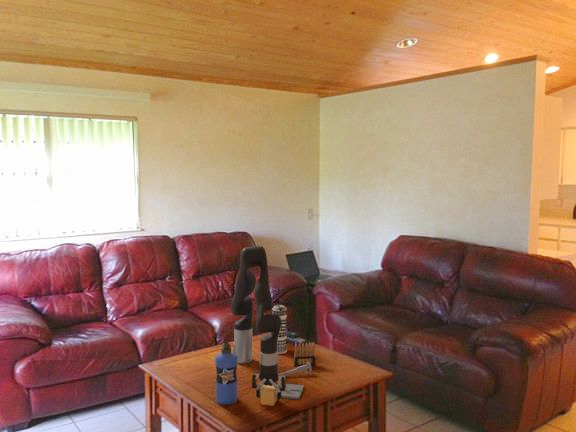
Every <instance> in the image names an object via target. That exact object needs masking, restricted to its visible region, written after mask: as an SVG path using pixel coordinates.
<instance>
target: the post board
mask: <svg viewBox="0 0 576 432" xmlns="http://www.w3.org/2000/svg"><path fill="white" fill-rule="evenodd" d="M278 383H279V385H280V386H281V387H282V383H281V381H280V379H278ZM263 386H264V384H263V385H262V386H261V387H260V391H261V389H262V388H263ZM272 386H273V385H272ZM304 388H305V385H303V384H295V383H286V389H285V391H281V398H282V399H292V400H300V397H301V395H302V393H303V391H304ZM277 392H278V391H277Z"/></svg>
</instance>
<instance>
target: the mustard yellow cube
mask: <svg viewBox="0 0 576 432" xmlns="http://www.w3.org/2000/svg"><path fill="white" fill-rule="evenodd" d="M263 385H264V384H263ZM263 385H262V386H263ZM261 388H262V387H261ZM261 388H260V390H261V396H260V405H263V406H275V404H276V402H277V401H278V400H277V389H276V388H274V386H269V385H267V386H266V385H264V386H263V388H262V389H261Z"/></svg>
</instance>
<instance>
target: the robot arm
mask: <svg viewBox="0 0 576 432" xmlns="http://www.w3.org/2000/svg"><path fill="white" fill-rule="evenodd" d="M239 260H240V261H239V268H238V272H237V273H238V274H237V278H236V281H235V282H236V283H235V289H234V293H233V296H232V299H231V303H230V311H231V313H232V315H233V316H235V317H236V316H243V317H242V318H240V319H239V320H238V319H237V320H236V321H235V322H234V324H233V325H234V326H233V333H234V336H233V337H234V339H233V340H234V342H233V343H232V353H233V354H236V355H237V364H244V365H245V364H249V363H251V362H252V361H253V314H254V313H253V311H254V303H253V302H254V301H253V298H252V297H251V296H250V295H252V294H253V296H254V299H255V305H256V319H255V328H256V330H257V331H258V332H259V333H268V334H267V335H265V336H262V337H261V338H260V348H259V349H260V351H259V352H260V353H259V373H257V372H254V373H253V374H252V376H251V377H252V378H251V388H252V389H255V392H256V393H255V395H256V398H257V399H261V391H260V390H261V388H262V386H263V385H266V386H267V385H269V386H272V385H273V386H274V388H276V389H277V391H278V392H277V400H276V401H280V400H281V391H285V389H286V384H287V383H286V376H285V375H283V376H279V375H278V374H279V365H278V362H279V356H278V355H279V354H277V340H278V336H279V332H280V329H281V318H280V316H279V315H277V314H272V313H271V314H265V313H266V312H269V311H272V308H273V307H274V302H273V298H272V294H271V293H272V292H271V288H270V279H269V277H270V275H269V268H268V258H267V253H266V250H265V247H264V246H263V245H262V246H258V245H256V246H247V247H244V248H242V250H241V252H240V259H239ZM250 268H251V269H253V268H260V274H259V277H258V280H257V277H256V275H255V273H254V272H253V271H252V270H251V269H250ZM253 292H254V293H253ZM258 378H259V380H260V382H259V384H257V380H258ZM279 379H280V381H281V383H282V387H281V386H280V385H279Z"/></svg>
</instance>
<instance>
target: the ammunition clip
mask: <svg viewBox="0 0 576 432" xmlns="http://www.w3.org/2000/svg"><path fill="white" fill-rule="evenodd" d="M315 348H316V347H315V342H314V341H313V342H312V343H311V342H309V344H308V342H302V344H301V343H300V342H298V344H297V342H295V344H294V352H293V353H294V356H293V357H294V360H293V367H294V368H297V367H300V366H303V365H306V363H307V364H308V362H309V363H310V364H311V367H315V366H316V349H315Z"/></svg>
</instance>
